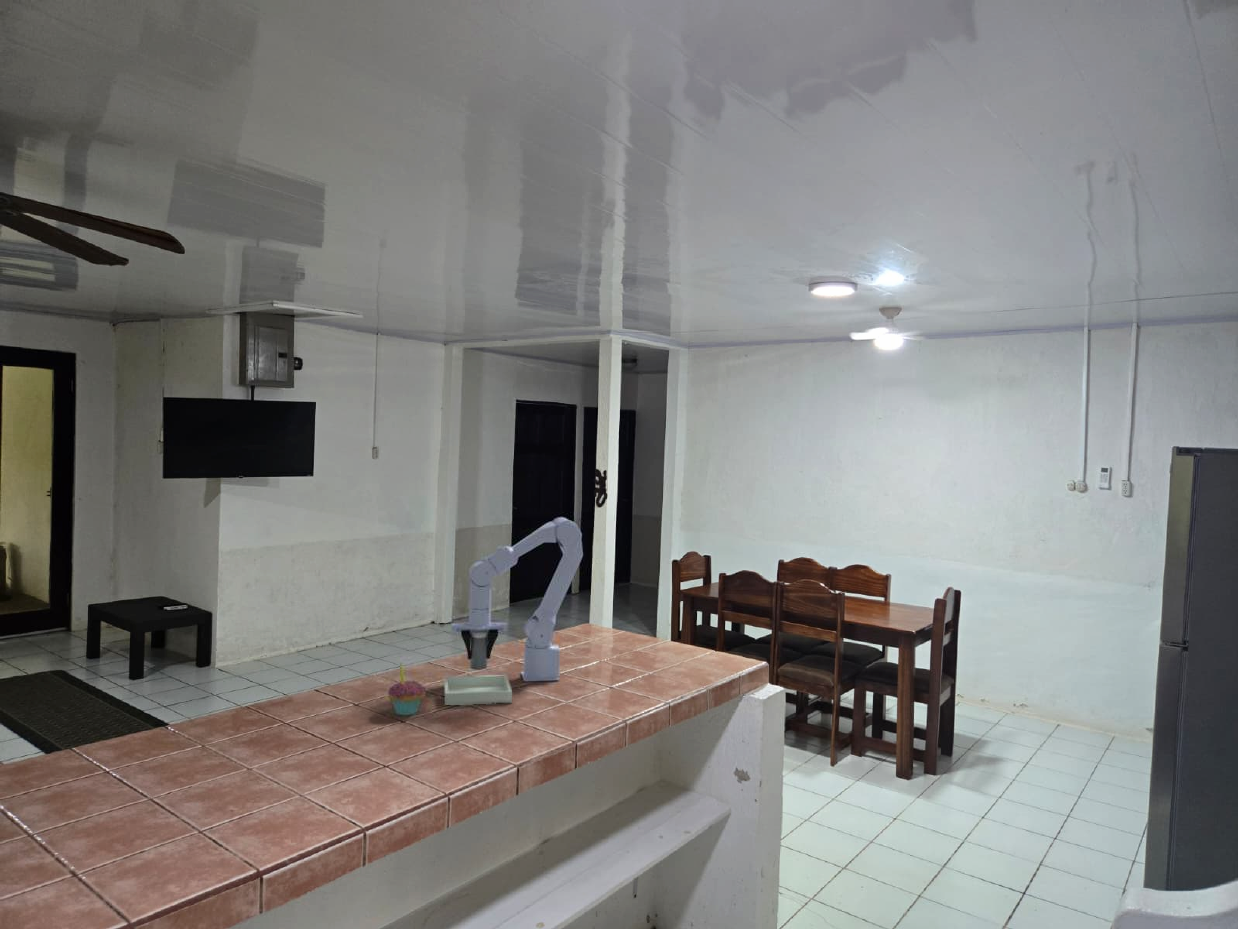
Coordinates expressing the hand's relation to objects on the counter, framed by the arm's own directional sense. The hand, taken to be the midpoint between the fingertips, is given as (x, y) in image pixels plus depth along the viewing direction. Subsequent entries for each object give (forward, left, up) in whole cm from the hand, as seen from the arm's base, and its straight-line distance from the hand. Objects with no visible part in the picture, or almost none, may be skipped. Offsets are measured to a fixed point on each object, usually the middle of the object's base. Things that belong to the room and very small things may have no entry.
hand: (478, 658), depth 219 cm
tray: (+1, +13, -6) cm, 14 cm away
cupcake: (+18, +23, -6) cm, 30 cm away
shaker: (0, 0, -3) cm, 2 cm away
